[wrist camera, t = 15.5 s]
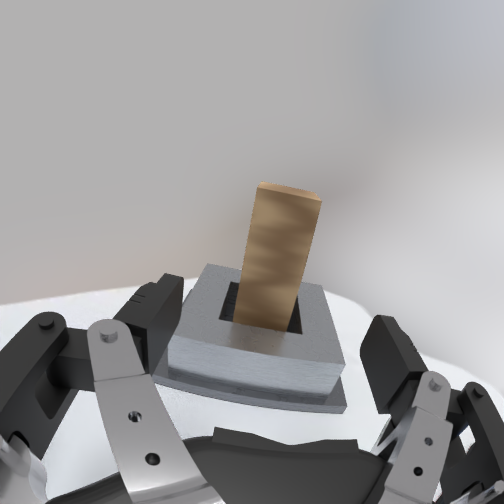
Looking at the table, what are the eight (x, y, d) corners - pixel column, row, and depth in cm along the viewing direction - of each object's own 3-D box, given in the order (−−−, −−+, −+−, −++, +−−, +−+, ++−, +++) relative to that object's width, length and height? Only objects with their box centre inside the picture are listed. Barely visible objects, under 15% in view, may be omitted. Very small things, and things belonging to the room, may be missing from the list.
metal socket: (145, 379, 19) (141, 332, 17) (190, 296, 32) (194, 257, 30) (342, 413, 19) (368, 372, 17) (322, 321, 32) (334, 285, 30)
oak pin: (227, 350, 23) (257, 187, 18) (235, 323, 27) (261, 181, 22) (276, 360, 23) (321, 201, 18) (278, 331, 27) (314, 192, 22)
